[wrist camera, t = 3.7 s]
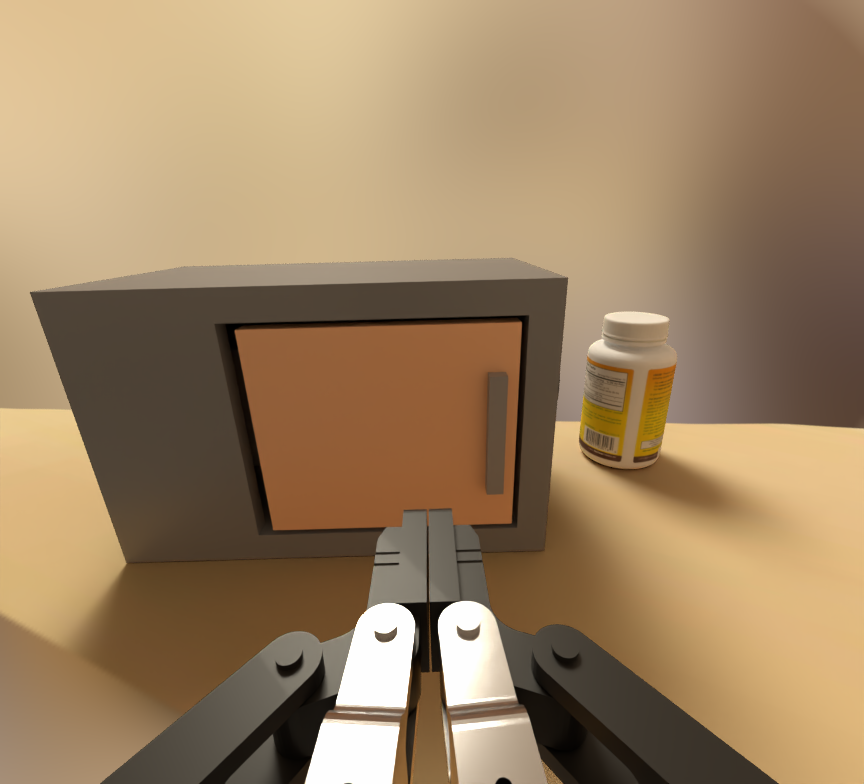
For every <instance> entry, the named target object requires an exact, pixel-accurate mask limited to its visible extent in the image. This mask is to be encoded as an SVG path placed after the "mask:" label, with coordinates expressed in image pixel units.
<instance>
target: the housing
mask: <svg viewBox="0 0 864 784" xmlns="http://www.w3.org/2000/svg"><path fill="white" fill-rule="evenodd" d="M567 284H568V277H565V276H562V275H559V274H556V273H553V272H551V271H548V270H545V269H542V268H540V267H537V266H534V265H531V264H528V263H526V262H522V261H520V260H517V259H514V258H493V259H492V258H491V259H452V260H415V261H378V262H340V263H306V264H303V263H302V264H267V265H266V264H265V265H229V266H192V267H180V268H174V269H168V270H162V271H155V272H150V273H143V274H137V275H131V276H125V277H119V278H113V279H107V280H101V281H95V282H88V283H83V284H76V285H71V286H64V287H59V288H52V289H46V290H40V291H34V292H30V294H31V297H32V300H33V303H34V305H35V308H36V311H37V314H38V316H39V319H40V322H41V325H42V328H43V330H44V333H45V336H46V339H47V342H48V344H49V347H50V350H51V353H52V356H53V358H54V361H55V364H56V367H57V369H58V372H59V375H60V378H61V381H62V384H63V386H64V389H65V392H66V395H67V398H68V400H69V403H70V406H71V409H72V412H73V414H74V417H75V420H76V423H77V426H78V428H79V431H80V434H81V437H82V440H83V442H84V445H85V448H86V451H87V454H88V456H89V459H90V462H91V465H92V468H93V470H94V473H95V476H96V479H97V482H98V484H99V487H100V490H101V493H102V496H103V498H104V501H105V504H106V507H107V510H108V512H109V515H110V518H111V521H112V523H113V526H114V529H115V532H116V535H117V537H118V540H119V543H120V546H121V549H122V551H123V554H124V557H125V560H126V563H135V562H169V561H203V560H237V559H271V558H305V557H339V556H373V555H376V548H377V541H378V538H379V537H380V535H381V534H382V533H383V531H384V530H385V529H386V527H372V528H338V529H304V530H273V526H272V521H271V516H270V510H269V505H268V500H267V495H266V490H265V485H264V480H263V474H262V469H261V464H260V459H259V454H258V449H257V443H256V438H255V433H254V428H253V423H252V418H251V413H250V407H249V402H248V397H247V392H246V387H245V382H244V376H243V371H242V366H241V361H240V356H239V351H238V346H237V340H236V335H235V330H236V329H238V328H240V327H241V326H243V325H269V324H306V323H342V322H379V321H416V320H452V319H489V318H518V319H519V320H520V321H521V322H522V331H521V350H520V370H519V389H518V409H517V428H516V447H515V467H514V486H513V506H512V523H510V524H475V525H470V526H471V527H472V528H473V530H474V531H475V532H476V534H477V535H478V537H479V543H480V549H481V552H509V551H543V550H544V547H545V535H546V524H547V513H548V501H549V490H550V478H551V467H552V455H553V444H554V432H555V421H556V409H557V400H558V393H559V381H560V363H561V352H562V341H563V329H564V317H565V306H566V295H567ZM427 528H428V554H429V526H427Z"/></svg>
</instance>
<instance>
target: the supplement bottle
mask: <svg viewBox="0 0 864 784" xmlns="http://www.w3.org/2000/svg"><path fill="white" fill-rule="evenodd" d="M669 322H670V321H669V319H668V318H667V317H665V316H661V315H657V314H652V313H643V312H615V313H610V314H607V315H605V318H604V323H603V329H602V339H601V340H598V341H596V342H594V343H593V344H592V345H591V346H590V348H589V350H588V356H587V366H586V377H585V388H584V397H583V407H582V416H581V425H580V435H579V445H580V448H581V450H582V451H583V452H584V454H585V455H586V456H588V457H589V458H590V459H592V460H594V461H596V462H598V463H600V464H603V465H606V466H609V467H614V468H620V469H639V468H644V467H647V466H650V465H651V464H653V463H654V462H655V461H656V460H657V459H658V457H659V455H660V450H661V444H662V439H663V434H664V428H665V423H666V416H667V412H668V406H669V400H670V395H671V389H672V384H673V378H674V373H675V368H676V363H677V354H676V352H675V350H674V349H673V348H672V347H670V346H669V345H667V344H665V343H666V341H667V337H668V328H669Z"/></svg>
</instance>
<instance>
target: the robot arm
mask: <svg viewBox="0 0 864 784" xmlns="http://www.w3.org/2000/svg"><path fill="white" fill-rule="evenodd" d="M429 604H430V630H431V656H432V672H440V698H441V714H442V724H443V734H444V743H445V753H446V763H447V773H448V783H449V784H548V783H547V779H546V776H545V772H544V769H543V765H542V761H541V759H542V760H543V762H544V763H545V764H546V765H547V766H548V767H549V768H550V769H551V770H552V771H553V773H554V774H555V775H556V776H557V777H558V778H559V779H560V780H561V781H562V782H563V784H778V783H777V782H776V781H775V780H773V779H772V778H771V777H769V776H768V775H767V774H765V773H764V772H763V771H761V770H760V769H759V768H758V767H756V766H755V765H754V764H752V763H751V762H750V761H748V760H747V759H746V758H744V757H743V756H742V755H741V754H739V753H738V752H737V751H735V750H734V749H733V748H731V747H730V746H729V745H727V744H726V743H725V742H724V741H722V740H721V739H720V738H718V737H717V736H716V735H714V734H713V733H712V732H711V731H709V730H708V729H707V728H705V727H704V726H703V725H701V724H700V723H699V722H697V721H696V720H695V719H694V718H692V717H691V716H690V715H688V714H687V713H686V712H684V711H683V710H682V709H680V708H679V707H678V706H677V705H675V704H674V703H673V702H671V701H670V700H669V699H667V698H666V697H665V696H663V695H662V694H661V693H660V692H658V691H657V690H656V689H654V688H653V687H652V686H650V685H649V684H648V683H647V682H645V681H644V680H643V679H641V678H640V677H639V676H637V675H636V674H635V673H633V672H632V671H631V670H630V669H628V668H627V667H626V666H624V665H623V664H622V663H620V662H619V661H618V660H616V659H615V658H614V657H613V656H611V655H610V654H609V653H607V652H606V651H605V650H603V649H602V648H601V647H599V646H598V645H597V644H596V643H594V642H593V641H592V640H590V639H589V638H588V637H586V636H585V635H584V634H582V633H581V632H579V631H578V630H576V629H574V628H572V627H569V626H565V625H559V624H555V625H549V626H546V627H543V628H542V629H540V630H539V631H538V632H537V633H536V635H531V634H527V633H524V632H520V631H517V630H514V629H512V628H510V627H508V626H506V625H505V624H503V623H502V622H501V621H500V620H499V619H498V618H497V617H496V616H495V614H494V613H493V611H492V609H491V606H490V602H489V596H488V590H487V584H486V578H485V572H484V566H483V562H482V555H481V549H480V543H479V537H478V535H477V534H476V532H475V531H474V530H473V528H472V527H471V526H470V525H453V516H452V508H442V509H429V555H428V528H427V509H412V510H403V521H402V527H386V529H385V530H384V531H383V533H382V534H381V535H380V537H379V538H378V541H377V548H376V555H375V561H374V567H373V573H372V580H371V586H370V592H369V599H368V605H367V610H366V612H365V613H364V614H363V615H362V617H361V618H360V620H359V621H358V624H357V626H356V627H355V628H354V629H352V630H351V631H350V632H348V633H346V634H344V635H342V636H339V637H337V638H334V639H331V640H328V641H325V642H322V643H320V641H319V640H318V638H317V637H316V636H314V635H313V634H311V633H308V632H304V631H295V632H290V633H287V634H284V635H282V636H280V637H278V638H276V639H275V640H274V641H272V642H271V643H270V644H269V645H267V646H266V647H265V648H264V649H263V650H261V651H260V652H259V653H258V654H256V655H255V656H254V657H253V658H252V659H250V660H249V661H248V662H247V663H246V664H244V665H243V666H242V667H241V668H239V669H238V670H237V671H236V672H235V673H233V674H232V675H231V676H230V677H229V678H227V679H226V680H225V681H224V682H223V683H221V684H220V685H219V686H218V687H216V688H215V689H214V690H213V691H212V692H210V693H209V694H208V695H207V696H206V697H204V698H203V699H202V700H201V701H200V702H198V703H197V704H196V705H195V706H193V707H192V708H191V709H190V710H189V711H187V712H186V713H185V714H184V715H183V716H181V717H180V718H179V719H178V720H177V721H175V722H174V723H173V724H172V725H170V726H169V727H168V728H167V729H166V730H164V731H163V732H162V733H161V734H160V735H158V736H157V737H156V738H155V739H154V740H152V741H151V742H150V743H149V744H148V745H146V746H145V747H144V748H143V749H141V750H140V751H139V752H138V753H137V754H135V755H134V756H133V757H132V758H131V759H129V760H128V761H127V762H126V763H124V764H123V765H122V766H121V767H120V768H118V769H117V770H116V771H115V772H114V773H112V774H111V775H110V776H109V777H107V778H106V779H105V780H104V781H103V782H102V783H100V784H304V783H305V784H412V782H413V771H414V759H415V748H416V736H417V725H418V714H419V699H420V695H421V672H429Z"/></svg>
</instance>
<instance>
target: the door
mask: <svg viewBox="0 0 864 784" xmlns="http://www.w3.org/2000/svg"><path fill="white" fill-rule="evenodd" d="M521 331H522V322H521V321H520V320H519V319H518V318H489V319H452V320H416V321H379V322H342V323H306V324H269V325H243V326H241V327H240V328H238V329H236V330H235V335H236V340H237V346H238V351H239V356H240V361H241V366H242V371H243V376H244V382H245V387H246V392H247V397H248V402H249V407H250V413H251V418H252V423H253V428H254V433H255V438H256V443H257V449H258V454H259V459H260V464H261V469H262V474H263V480H264V485H265V490H266V495H267V500H268V505H269V510H270V516H271V521H272V526H273V530H304V529H338V528H372V527H402V521H403V510H412V509H427V526H429V509H442V508H452V516H453V525H475V524H510V523H512V506H513V486H514V467H515V447H516V428H517V409H518V389H519V370H520V350H521Z"/></svg>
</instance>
